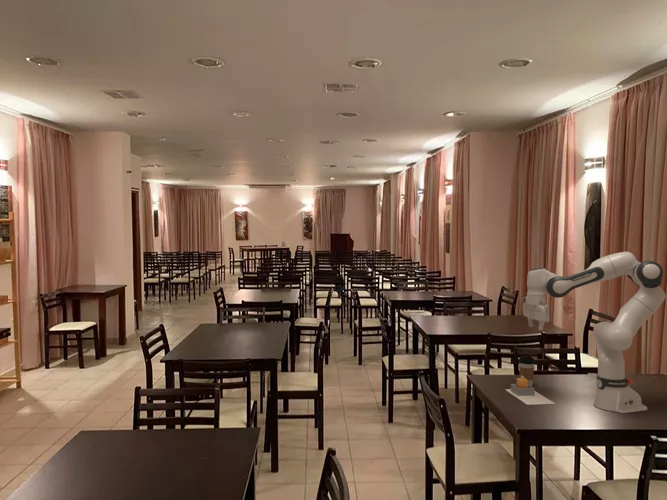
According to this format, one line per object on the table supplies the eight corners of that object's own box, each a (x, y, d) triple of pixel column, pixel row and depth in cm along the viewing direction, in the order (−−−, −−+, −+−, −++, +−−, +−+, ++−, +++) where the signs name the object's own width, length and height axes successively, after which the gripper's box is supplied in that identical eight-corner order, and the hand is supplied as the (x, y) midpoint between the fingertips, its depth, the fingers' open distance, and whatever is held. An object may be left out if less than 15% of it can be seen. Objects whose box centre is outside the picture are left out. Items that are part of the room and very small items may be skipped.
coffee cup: (518, 386, 277) (518, 358, 277) (517, 382, 285) (518, 355, 285) (535, 388, 275) (535, 359, 274) (534, 383, 283) (534, 356, 282)
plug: (524, 391, 265) (524, 374, 265) (527, 394, 261) (528, 377, 261) (516, 392, 265) (516, 375, 264) (520, 394, 261) (520, 377, 260)
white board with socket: (530, 390, 271) (530, 381, 271) (555, 405, 247) (555, 396, 247) (504, 391, 269) (504, 382, 269) (527, 406, 245) (527, 397, 245)
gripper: (553, 303, 249) (552, 332, 249) (532, 297, 269) (531, 324, 270) (540, 303, 248) (540, 332, 249) (520, 298, 269) (520, 324, 269)
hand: (535, 328), depth 259 cm, fingers open, 8 cm apart
